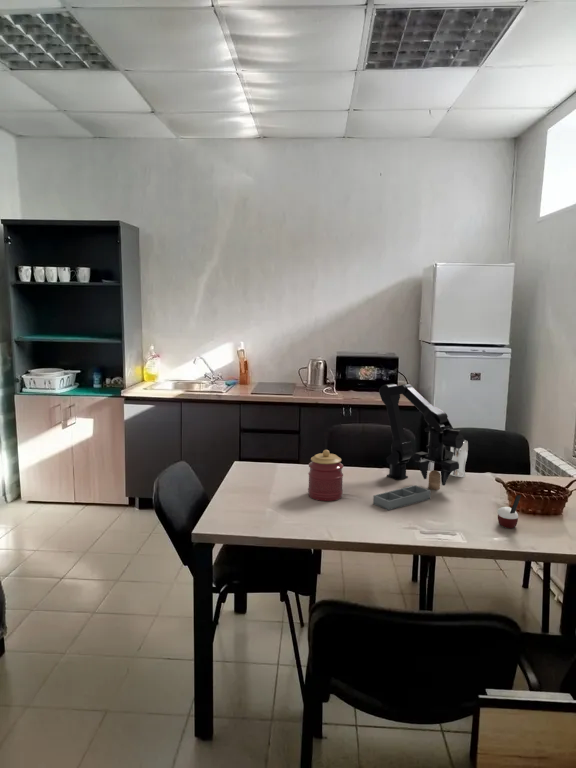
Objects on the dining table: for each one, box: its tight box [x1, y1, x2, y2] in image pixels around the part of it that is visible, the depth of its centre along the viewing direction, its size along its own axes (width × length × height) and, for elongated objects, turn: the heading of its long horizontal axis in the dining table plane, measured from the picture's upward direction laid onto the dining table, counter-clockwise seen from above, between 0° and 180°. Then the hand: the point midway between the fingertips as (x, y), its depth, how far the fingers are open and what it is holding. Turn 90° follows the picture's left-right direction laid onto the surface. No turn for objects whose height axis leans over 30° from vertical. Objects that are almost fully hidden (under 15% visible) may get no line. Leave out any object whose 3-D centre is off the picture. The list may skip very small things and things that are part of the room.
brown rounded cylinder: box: [427, 469, 441, 491], centre depth 214 cm, size 4×4×7 cm
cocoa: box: [497, 494, 522, 529], centre depth 176 cm, size 10×6×12 cm, turn 169°
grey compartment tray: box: [372, 484, 432, 511], centre depth 199 cm, size 8×22×3 cm, turn 124°
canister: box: [307, 449, 344, 502], centre depth 203 cm, size 13×13×18 cm
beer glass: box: [449, 439, 469, 478], centre depth 231 cm, size 7×7×15 cm
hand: (434, 482), depth 214 cm, fingers open, 9 cm apart
